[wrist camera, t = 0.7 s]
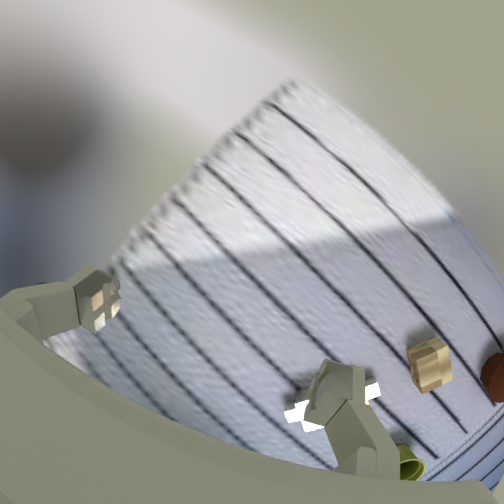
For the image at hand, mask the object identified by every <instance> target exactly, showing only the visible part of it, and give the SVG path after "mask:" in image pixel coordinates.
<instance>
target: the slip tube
mask: <svg viewBox="0 0 504 504" xmlns="http://www.w3.org/2000/svg"><path fill="white" fill-rule="evenodd" d="M365 390H366V404H369V403H368V399H371V398H374V397H377V396H379V395H380V391H379V387H378V383H377V381H376V379H375V377H373V378H370V379H367V380H365ZM284 414H285V416H286V419H287V421H288V423H292V422H296V421H300V420H301V419H300V416H299V414H298V411H297V408H296V406H295V402H294V403H290V404H286V405H285V408H284Z"/></svg>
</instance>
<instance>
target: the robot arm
mask: <svg viewBox="0 0 504 504" xmlns="http://www.w3.org/2000/svg"><path fill="white" fill-rule="evenodd" d="M119 289H120V281H119V280H118V279H117V278H115V277H113V276H111V275H109V274H107V273H105V272H103V271H101V270H98V269H96V268H94V267H92V266H86V267H85V268H83V269H82V270H81V271H79V272H78V273H76V274H75V275H73V276H72V277H70V278H69V279H68V280H66V281H65V282H63V283H62V282H61V281H59V282H54V283H48V284H42V285H36V286H30V287H25V288H19V289H14V290H12V291H11V292H9V293H8V294H6V295H5V296H4V297H2V298H1V299H0V504H499V502H498V501H497V500H496V498H495V497H494V496H493V494H492V493H491V492H490V491H489V489H488V488H487V487H486V486H485V485H484V484H483V483H482V482H480V481H478V480H467V481H408V480H400V451H399V450H398V448H397V446H396V445H395V443H394V442H393V440H392V439H391V437H390V436H389V434H388V433H387V431H386V429H385V428H384V426H383V425H382V423H381V422H380V420H379V419H378V417H377V416H376V414H375V413H374V411H373V410H372V408H371V407H370V405H369V404H366V390H365V370H364V369H361V368H357V367H354V366H349V365H346V364H342V363H339V362H335V361H332V360H328V359H325V360H324V361H323V362H322V364H321V366H320V372H318V373H316V374H315V376H314V378H313V380H312V382H311V384H310V387H309V391H308V395H307V397H308V399H309V402H308V403H307V405H306V406H305V411H304V417H303V421H306V422H309V423H312V424H316V425H319V426H323V427H324V429H325V431H326V434H327V436H328V439H329V441H330V444H331V446H332V449H333V451H334V454H335V456H336V459H337V461H338V464H339V465H338V466H337V467H336V468H334V469H333V470H332V471H328V470H323V469H318V468H313V467H309V466H304V465H300V464H296V463H292V462H288V461H284V460H280V459H277V458H273V457H270V456H266V455H263V454H260V453H256V452H253V451H250V450H247V449H244V448H241V447H238V446H235V445H232V444H229V443H226V442H224V441H221V440H218V439H216V438H213V437H210V436H208V435H205V434H203V433H200V432H198V431H195V430H193V429H191V428H188V427H186V426H184V425H181V424H179V423H177V422H175V421H172V420H170V419H168V418H166V417H164V416H162V415H160V414H158V413H156V412H153V411H151V410H149V409H147V408H145V407H143V406H142V405H140V404H138V403H136V402H134V401H132V400H130V399H128V398H126V397H125V396H123V395H121V394H119V393H118V392H116V391H114V390H112V389H111V388H109V387H107V386H105V385H104V384H102V383H100V382H99V381H97V380H96V379H94V378H92V377H91V376H89V375H88V374H86V373H84V372H83V371H81V370H80V369H78V368H77V367H75V366H74V365H72V364H71V363H69V362H68V361H66V360H65V359H63V358H62V357H61V356H59V355H58V354H56V353H55V352H54V351H52V350H51V349H49V348H48V347H47V346H45V345H44V343H43V339H45V338H48V337H51V336H54V335H57V334H60V333H62V332H65V331H68V330H71V329H74V328H76V327H79V326H80V325H81V326H82V327H84V328H86V329H88V330H90V331H91V332H93V333H95V334H96V333H97V332H98V331H99V330H100V329H101V328H102V327H103V326H105V325H106V320H107V319H111V318H113V317H114V316H115V315H116V313H117V311H118V310H119V308H120V303H121V297H120V295H119V294H118V292H117V291H118V290H119Z"/></svg>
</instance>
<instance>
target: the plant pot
mask: <svg viewBox="0 0 504 504" xmlns="http://www.w3.org/2000/svg"><path fill="white" fill-rule="evenodd" d="M397 448H398V450H399V451H400V480H408V481H417V480H418V479H419V478H420V477H421V476H422V475H423V473H424V471H425V463H424V462H423V461H422V460H420V459H418V458H417V457H416V456H415V455H414V454H413V452H412V451H411V450H410V449H409V447H408V446H406V445H398V446H397Z"/></svg>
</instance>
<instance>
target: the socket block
mask: <svg viewBox="0 0 504 504" xmlns="http://www.w3.org/2000/svg"><path fill="white" fill-rule="evenodd" d="M407 355H408V359H409V364H410V369H411V374H412V379H413V382H414V384H415V385H416V386H417V388H418V389H419V390H420V392H421V393H422V394H425V393H427V392H429V391H431V390H433V389H435V388H437V387H439V386H441V385H443V384H445V383H447V382H449V381H451V380H453V377H452V369H451V362H450V355H449V349H448V345H447V344H445V343H444V342H442V341H441V340H440V339H438V338H437V337H434V338H432V339H430V340H427V341H425V342H423V343H421V344H419V345H416V346H414V347H412V348H410V349H407Z"/></svg>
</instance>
